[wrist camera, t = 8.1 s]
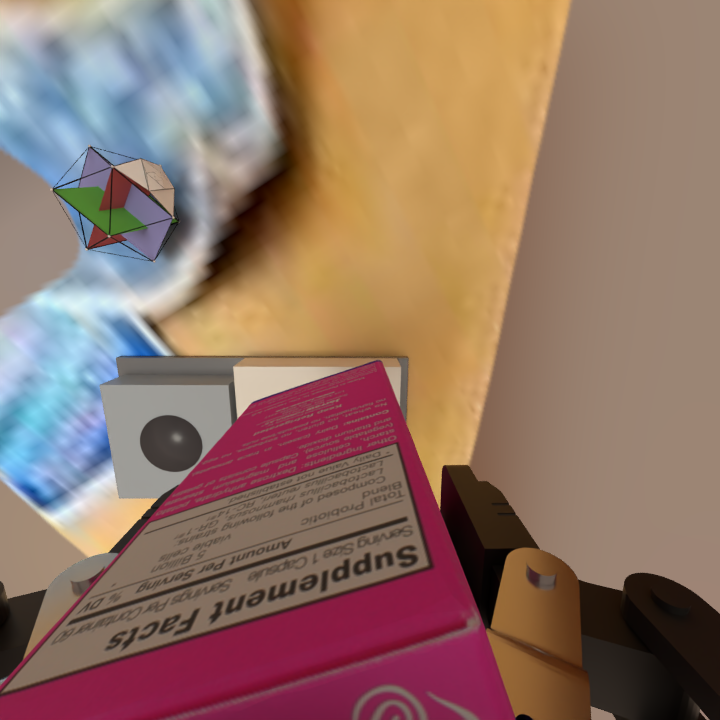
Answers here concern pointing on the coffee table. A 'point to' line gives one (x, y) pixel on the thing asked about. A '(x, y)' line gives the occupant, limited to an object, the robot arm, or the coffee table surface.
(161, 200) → the geometric puzzle
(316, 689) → the supplement box
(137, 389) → the socket board
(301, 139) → the coffee table surface
